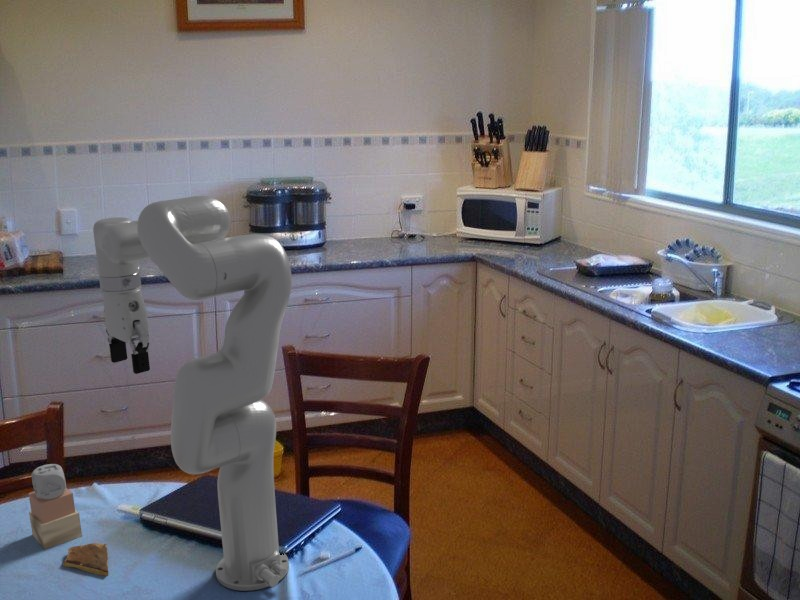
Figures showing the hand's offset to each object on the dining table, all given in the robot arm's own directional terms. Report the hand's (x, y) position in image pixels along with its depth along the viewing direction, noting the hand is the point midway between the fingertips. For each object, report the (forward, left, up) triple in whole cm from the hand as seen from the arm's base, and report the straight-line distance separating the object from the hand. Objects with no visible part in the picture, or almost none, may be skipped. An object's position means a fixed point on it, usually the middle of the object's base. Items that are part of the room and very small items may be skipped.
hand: (130, 366), depth 173 cm
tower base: (-3, +19, -29) cm, 35 cm away
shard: (-16, +17, -29) cm, 38 cm away
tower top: (-3, +19, -24) cm, 31 cm away
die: (-3, +19, -20) cm, 28 cm away
